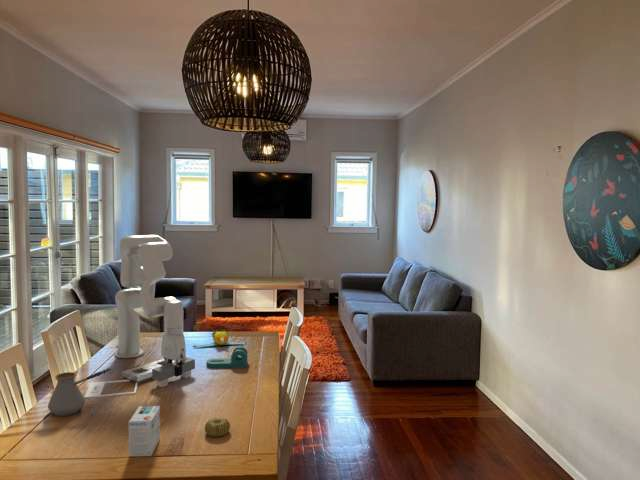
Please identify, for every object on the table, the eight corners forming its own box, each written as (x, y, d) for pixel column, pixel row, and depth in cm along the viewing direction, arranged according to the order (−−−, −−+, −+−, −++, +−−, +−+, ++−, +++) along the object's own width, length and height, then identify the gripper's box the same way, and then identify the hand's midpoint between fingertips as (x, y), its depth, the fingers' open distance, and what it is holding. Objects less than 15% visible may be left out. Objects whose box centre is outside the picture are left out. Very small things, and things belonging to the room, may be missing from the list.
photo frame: (90, 382, 196) (138, 378, 201) (91, 385, 196) (138, 380, 201) (84, 396, 182) (135, 391, 187) (84, 399, 182) (135, 394, 187)
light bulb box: (138, 439, 152) (138, 405, 151) (160, 438, 153) (160, 405, 152) (128, 457, 142) (127, 421, 141) (152, 456, 142) (151, 420, 141)
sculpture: (215, 429, 151) (199, 421, 156) (215, 441, 151) (199, 433, 156) (235, 420, 157) (219, 413, 162) (235, 432, 157) (219, 425, 162)
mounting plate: (122, 378, 202) (122, 371, 202) (165, 364, 221) (165, 357, 220) (137, 384, 197) (137, 376, 197) (180, 368, 215) (180, 362, 215)
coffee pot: (41, 419, 165) (40, 375, 164) (56, 404, 176) (55, 364, 175) (107, 417, 167) (106, 374, 166) (118, 403, 179) (117, 363, 177)
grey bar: (152, 386, 195) (152, 369, 194) (187, 373, 210) (187, 357, 209) (159, 388, 192) (159, 371, 192) (195, 375, 207) (194, 359, 207)
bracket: (247, 363, 224) (247, 346, 224) (246, 368, 218) (246, 350, 217) (207, 363, 223) (207, 346, 222) (205, 368, 216) (205, 351, 216)
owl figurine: (193, 334, 240) (191, 327, 254) (193, 351, 241) (192, 343, 255) (250, 330, 248) (245, 323, 263) (250, 347, 249) (245, 339, 263)
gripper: (152, 329, 201) (153, 372, 202) (180, 336, 192) (181, 381, 193) (167, 325, 207) (168, 367, 209) (195, 331, 198) (195, 375, 199)
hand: (174, 373), depth 201 cm, fingers closed on grey bar, 4 cm apart
